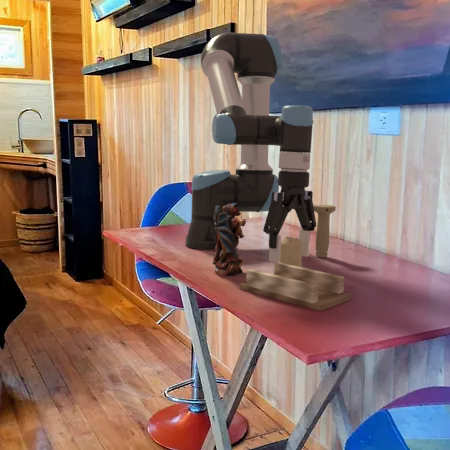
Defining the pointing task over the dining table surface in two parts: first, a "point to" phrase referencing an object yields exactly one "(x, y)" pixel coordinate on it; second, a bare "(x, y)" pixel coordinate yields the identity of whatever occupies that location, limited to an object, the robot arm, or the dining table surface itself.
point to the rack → (298, 286)
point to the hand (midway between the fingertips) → (289, 258)
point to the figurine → (228, 240)
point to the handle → (323, 229)
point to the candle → (291, 251)
